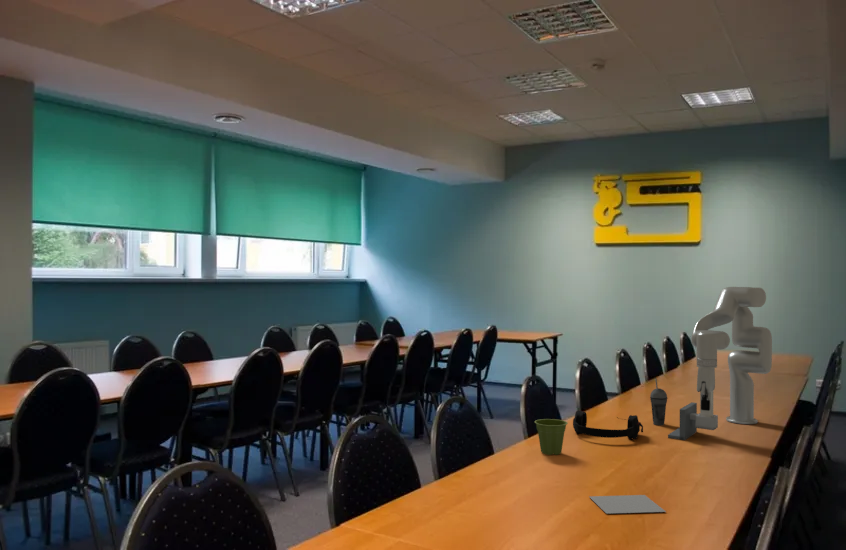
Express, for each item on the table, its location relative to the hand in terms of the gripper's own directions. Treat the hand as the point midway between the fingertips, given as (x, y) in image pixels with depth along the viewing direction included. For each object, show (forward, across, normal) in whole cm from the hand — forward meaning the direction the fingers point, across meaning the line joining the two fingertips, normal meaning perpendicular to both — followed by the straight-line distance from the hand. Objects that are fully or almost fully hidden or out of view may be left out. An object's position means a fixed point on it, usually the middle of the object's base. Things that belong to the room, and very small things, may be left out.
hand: (706, 408), depth 264 cm
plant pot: (+12, +58, -40) cm, 72 cm away
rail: (+5, 0, 0) cm, 5 cm away
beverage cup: (+12, -14, -23) cm, 29 cm away
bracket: (+12, 0, -5) cm, 13 cm away
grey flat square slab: (+12, +90, +1) cm, 91 cm away
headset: (+12, +19, -33) cm, 40 cm away
